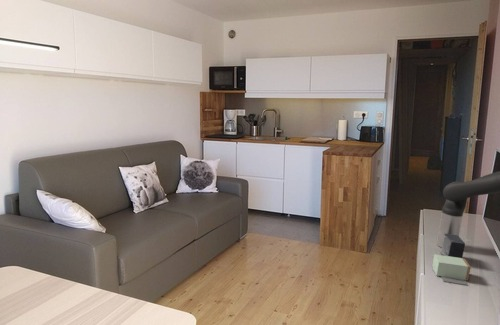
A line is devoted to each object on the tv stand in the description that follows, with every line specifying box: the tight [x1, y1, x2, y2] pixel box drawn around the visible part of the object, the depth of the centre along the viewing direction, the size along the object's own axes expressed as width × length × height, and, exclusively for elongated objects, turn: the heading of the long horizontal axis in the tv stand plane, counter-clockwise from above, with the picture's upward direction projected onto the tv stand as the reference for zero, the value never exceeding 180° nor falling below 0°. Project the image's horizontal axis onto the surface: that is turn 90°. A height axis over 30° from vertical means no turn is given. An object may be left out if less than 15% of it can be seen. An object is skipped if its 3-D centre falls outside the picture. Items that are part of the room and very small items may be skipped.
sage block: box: [431, 253, 471, 281], centre depth 161 cm, size 8×6×12 cm
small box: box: [440, 233, 466, 258], centre depth 176 cm, size 11×6×10 cm, turn 168°
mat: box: [440, 276, 469, 286], centre depth 161 cm, size 14×9×1 cm, turn 167°
